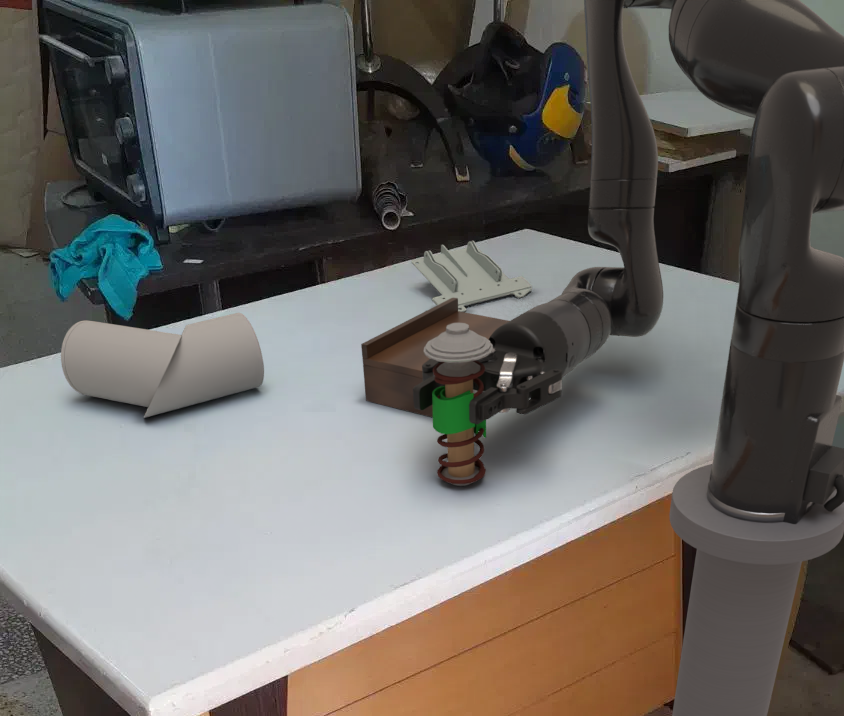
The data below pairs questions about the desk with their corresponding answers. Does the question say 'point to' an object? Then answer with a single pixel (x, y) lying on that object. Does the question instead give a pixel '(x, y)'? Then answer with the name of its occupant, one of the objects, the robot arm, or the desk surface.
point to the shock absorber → (458, 401)
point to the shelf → (412, 353)
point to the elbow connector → (163, 362)
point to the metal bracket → (468, 276)
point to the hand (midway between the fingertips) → (444, 406)
